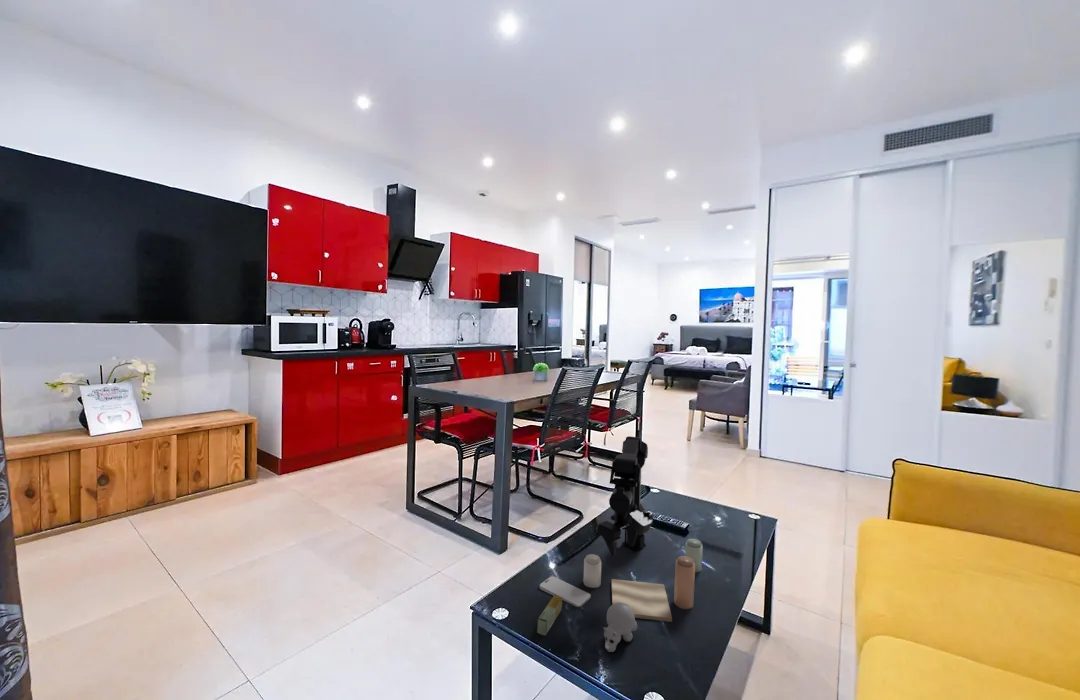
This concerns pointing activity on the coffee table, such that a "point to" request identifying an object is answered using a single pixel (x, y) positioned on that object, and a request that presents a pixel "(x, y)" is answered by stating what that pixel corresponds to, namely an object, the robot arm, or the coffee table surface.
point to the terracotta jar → (684, 582)
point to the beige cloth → (642, 599)
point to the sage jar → (694, 552)
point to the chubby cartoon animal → (619, 625)
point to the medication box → (549, 615)
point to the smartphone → (565, 591)
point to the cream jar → (592, 571)
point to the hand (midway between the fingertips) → (622, 551)
